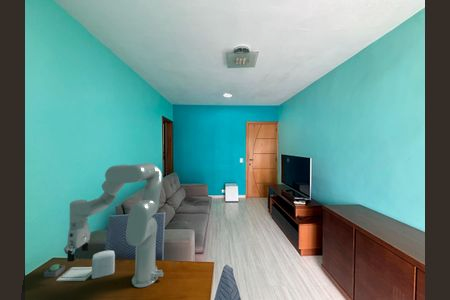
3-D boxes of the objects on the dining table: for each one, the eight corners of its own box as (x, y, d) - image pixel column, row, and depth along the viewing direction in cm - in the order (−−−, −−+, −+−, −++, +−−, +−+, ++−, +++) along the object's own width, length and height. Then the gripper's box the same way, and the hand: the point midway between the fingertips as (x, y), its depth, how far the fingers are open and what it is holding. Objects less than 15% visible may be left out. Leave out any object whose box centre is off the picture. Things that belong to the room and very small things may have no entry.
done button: (61, 268, 100) (61, 263, 100) (55, 272, 96) (55, 268, 96) (54, 268, 100) (54, 263, 100) (48, 272, 96) (48, 268, 96)
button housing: (65, 269, 101) (65, 265, 101) (55, 277, 95) (55, 272, 95) (54, 269, 101) (54, 265, 101) (43, 277, 95) (43, 272, 95)
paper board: (97, 267, 103) (97, 266, 103) (84, 280, 93) (84, 279, 93) (72, 268, 102) (72, 267, 102) (56, 281, 92) (56, 279, 92)
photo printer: (115, 269, 101) (115, 247, 101) (114, 274, 97) (114, 251, 98) (92, 275, 97) (92, 251, 97) (90, 280, 93) (91, 256, 93)
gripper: (73, 230, 89) (72, 265, 89) (96, 217, 106) (96, 247, 106) (57, 230, 89) (56, 266, 89) (83, 217, 106) (83, 247, 106)
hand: (78, 255), depth 97 cm, fingers open, 9 cm apart
